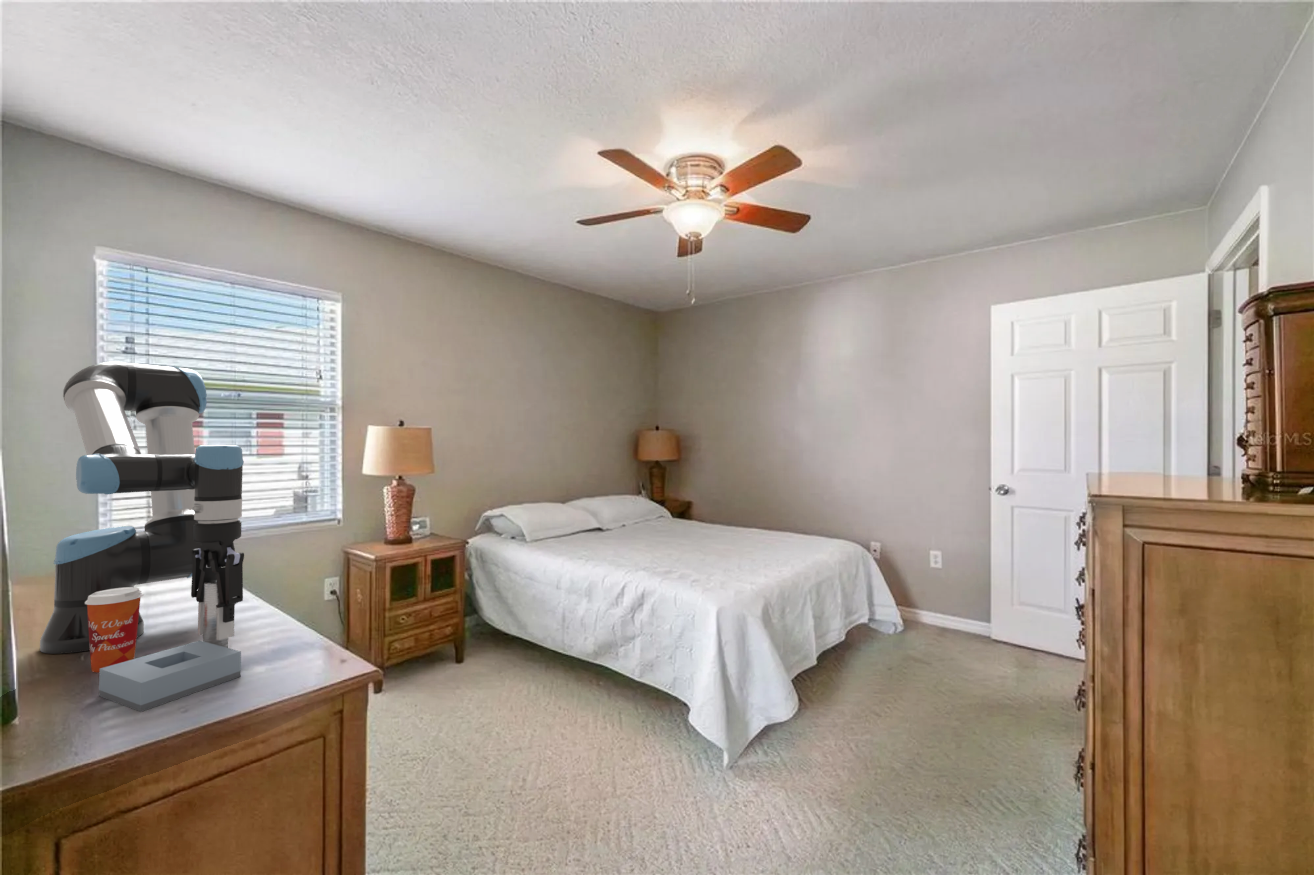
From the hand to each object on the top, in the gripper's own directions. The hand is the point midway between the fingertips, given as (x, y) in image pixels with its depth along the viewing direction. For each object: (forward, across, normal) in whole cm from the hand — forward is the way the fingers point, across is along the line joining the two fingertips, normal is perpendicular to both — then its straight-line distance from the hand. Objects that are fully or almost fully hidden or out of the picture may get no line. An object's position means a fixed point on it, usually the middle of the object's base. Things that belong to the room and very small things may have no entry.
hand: (215, 635), depth 107 cm
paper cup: (+3, -9, -12) cm, 15 cm away
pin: (+3, 0, 0) cm, 3 cm away
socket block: (+3, +11, -12) cm, 17 cm away
